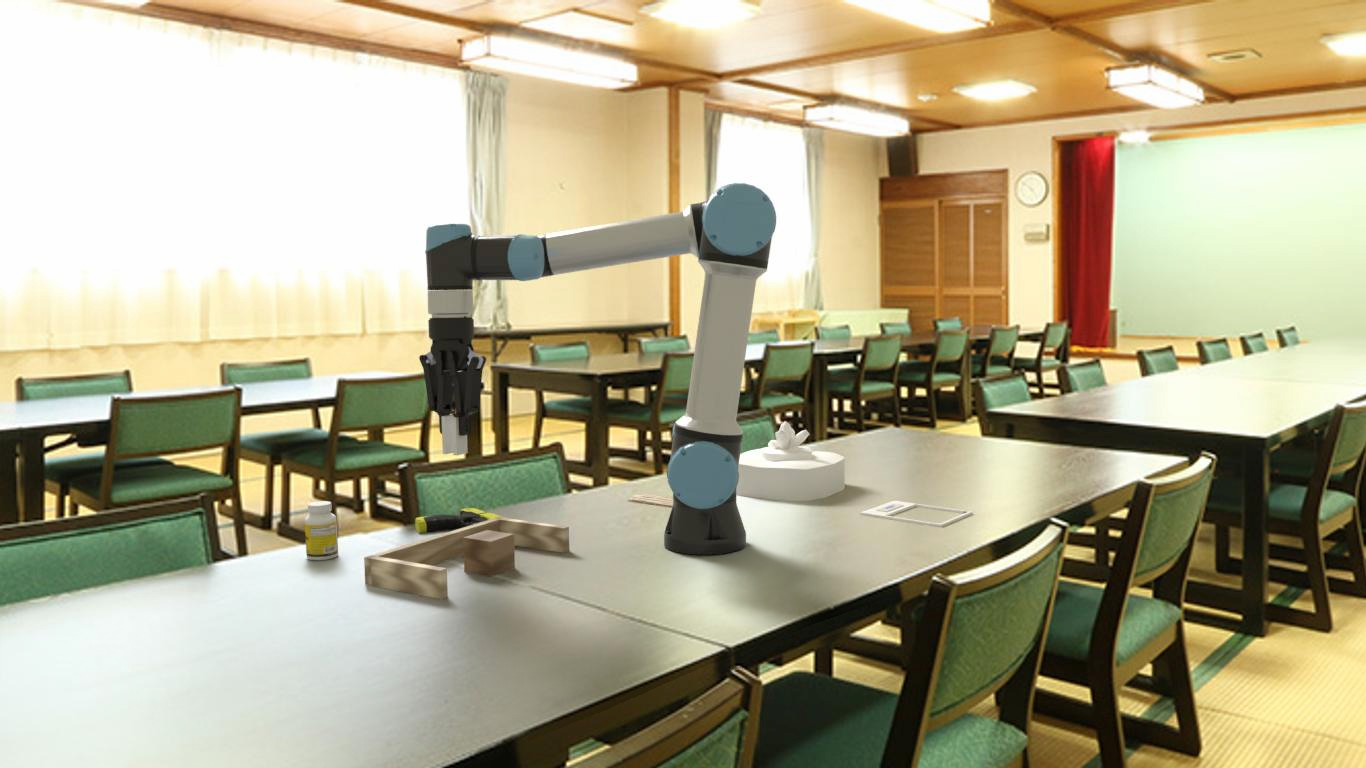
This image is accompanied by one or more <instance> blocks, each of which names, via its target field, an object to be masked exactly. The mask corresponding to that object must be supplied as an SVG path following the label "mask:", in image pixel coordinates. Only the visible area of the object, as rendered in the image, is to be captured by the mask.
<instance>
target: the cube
mask: <svg viewBox="0 0 1366 768" xmlns="http://www.w3.org/2000/svg"><path fill="white" fill-rule="evenodd" d="M463 546H464V555H463V572H464V573H468V574H475V575H479V576H480V575H481V576H485V577H494V576H497V575H500V574H503V573H505V572H508V571H510V570H514V569H515V568H516V562H515V561H516V559H515V557H516V556H515V555H516V554H515V553H516V552H515V545H514V534H510V533H503V532H497V531H490V530H486V531H483V532H479V533H476V534H473V535H470V536H466V537H463Z"/></svg>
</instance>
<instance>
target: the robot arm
mask: <svg viewBox="0 0 1366 768" xmlns="http://www.w3.org/2000/svg"><path fill="white" fill-rule="evenodd" d="M776 227H777V212H776V209H775V206H774V204H773V202H772V200H771V199H770V197H769V195H767V193H766V192H764V191H763V190H762V189H760V188H758V187H756V186H755V185H752V184H748V183H742V182H741V183H740V182H738V183H737V182H734V183H729V184H727V185H723V186H721V187H719V188H717V189H716V190H715V191H714V192H713V193H712V194H711V195H710V196H709V198H708V199H707V200H706V201H702V202H698V203H690V204H688V206H687V207H686V208H685V209H684V210H683V211H679V212H678V211H677V212H672V213H665V214H658V215H654V216H647V217H641V218H636V219H629V220H624V221H618V222H617V221H616V222H611V223H606V224H605V223H604V224H600V225H594V226H593V225H592V226H587V227H582V228H575V229H570V230H563V231H562V230H561V231H558V232H557V231H556V232H550V233H547V234H538V235H531V234H530V235H527V234H510V235H509V234H507V235H505V234H504V235H501V234H500V235H474V234H473V232H472V228H471V226H470V225H468V224H466V223H433V224H431V225H429V226H428V227H427V229H426V237H425V238H426V239H425V240H426V242H425V253H424V254H425V259H426V260H425V262H426V277H427V278H426V280H427V283H426V284H427V313H428V315H431V317H429V319H428V320H427V321H428V325H427V326H428V338H429V339H430V340H431V341H432V343H431V345H430V346H431V347H430V351H428V352H427V353H425V354H420V355H419V357H418V358H419V362H420V364H421V366H422V369H423V375H424V382H425V388H426V397H427V403H428V410H429V411H430V412H434V413H436V414H437V415H438V423H439V425H438V427H439V433H440V434H441V440H442V441H441V442H442V443H441V444H442V455H448V454H449V455H450V454H453V456H460V455H465V454H468V449H469V447H468V436H469V435H470V431H471V430H470V416H471V415H473V414H475V413H478V412H479V411H480V404H481V403H480V402H481V393H482V392H481V390H482V380H483V371H484V370H483V369H484V367H485V365H486V361H487V357H486V356H484V355H479V354H478V353H476V352H475V349H474V346H473V344H472V339H473V338H474V336H475V322H474V321H475V320H474V318H473V317H472V316H470V315H471V314H473V313H474V293H473V290H474V288H473V283H474V281H518V282H519V281H520V282H528V281H532V280H533V281H534V280H539V279H541V278H546V277H552V276H557V275H558V276H559V275H564V274H570V273H575V272H582V271H589V270H595V269H601V268H607V267H613V266H619V265H626V264H627V265H628V264H633V263H639V262H645V261H650V260H657V259H658V260H659V259H664V258H669V257H675V256H682V255H688V254H689V255H693V256H694V257H695V258H697V259H698V260H697V262H698V263H699V265H700V266H701V268H702V269H703V271H704V281H703V288H702V293H701V294H702V295H701V301H700V302H701V303H700V308H699V316H698V317H699V318H698V323H697V329H696V330H697V331H696V338H695V345H694V351H693V352H694V354H693V360H692V366H691V374H690V381H689V388H688V394H687V402H686V407H685V408H686V410H685V413H684V415H682V416H681V417H680V418H678V419H677V420H676V421H675V423H674V424H673V427H672V433H671V440H672V444H671V453H670V460H669V462H668V464H667V468H666V479H667V483H668V485H669V488H670V490H671V491H672V498H673V506H672V508H671V510H670V514H669V517H668V520H667V523H666V526H665V530H664V533H663V546H664V547H665V548H666V549H668V550H669V551H673V552H674V553H675V552H676V553H681V554H689V555H701V556H702V555H703V556H704V555H721V554H728V553H733V552H737V551H740V550H742V549H744V548H745V547H746V546H747V531H746V529H745V526H744V523H743V520H742V517H741V513H740V511H739V508H738V504H737V495H736V487H737V484H738V480H739V472H738V466H739V459H740V454H741V450H742V443H743V436H744V430H743V429H742V428H741V426H740V424H739V423H738V422H737V417H738V416H737V415H738V409H739V401H740V394H741V390H742V389H741V387H742V382H743V375H744V367H745V362H746V354H747V347H748V342H749V341H748V340H749V333H750V326H751V320H752V319H751V318H752V314H753V313H752V312H753V307H754V306H753V305H754V299H755V293H756V286H757V285H756V284H757V281H758V278H761V276H763V275H764V274H765V273H766V272H768V265H769V259H770V254H771V253H770V252H771V245H772V239H773V236H774V232H775V230H776ZM453 398H454V405H455V408H454V409H455V410H453Z"/></svg>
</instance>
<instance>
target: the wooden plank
mask: <svg viewBox="0 0 1366 768" xmlns="http://www.w3.org/2000/svg"><path fill="white" fill-rule="evenodd" d="M627 502H630V503H638V504H645V505H652V506H657V507H658V506H659V507H664V508H665V507H666V508H671V509H672V506H673V497H670V496H669V497H668V496H662V495H661V496H660V495H654V494H646V493H637V494H633V495H632V496H631V497H630V496H629V498H628V500H627Z"/></svg>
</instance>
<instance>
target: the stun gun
mask: <svg viewBox="0 0 1366 768" xmlns="http://www.w3.org/2000/svg"><path fill="white" fill-rule="evenodd" d="M459 514H460V515H458V514H436V515H427V516H419V517H418V516H417V517H415V519H414V524H415V526H414V528H415V530H416V532H417V533H419V534H422V533H423V534H424V533H432V532H437V531H438V532H439V531H447V530H448V531H449V530H451V531H453V530H457V529H460V528H463V527H467V526H470V525H473V524H477V523H480V522H483V521H487V520H490V519H493V518H497V517H502V518H505V517H503V516H501V515H498V514H497V513H493V512H488V511H484V510H481V509H478V508H475V507H466V508H461V509H460V513H459Z"/></svg>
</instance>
